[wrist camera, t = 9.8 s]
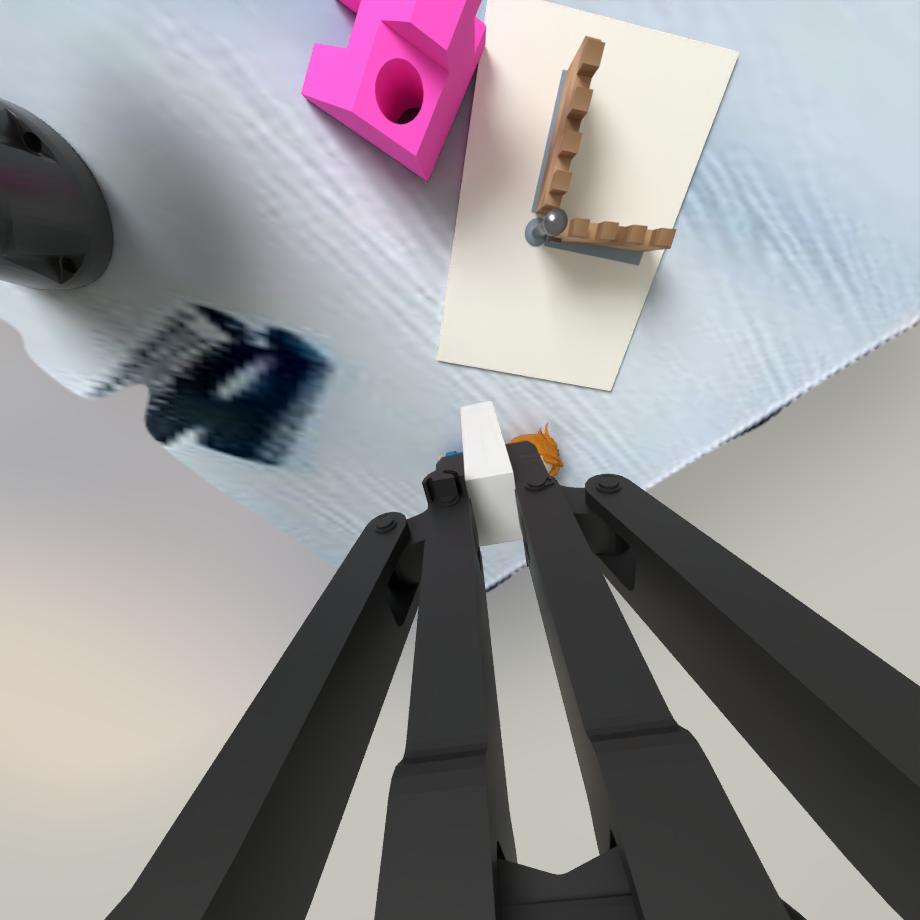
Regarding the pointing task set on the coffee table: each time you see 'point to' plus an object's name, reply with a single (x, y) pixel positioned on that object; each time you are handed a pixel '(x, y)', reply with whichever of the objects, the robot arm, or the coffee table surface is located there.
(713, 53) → the card
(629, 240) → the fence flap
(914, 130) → the coffee table surface
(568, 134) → the fence fixed
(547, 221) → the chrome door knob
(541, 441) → the toy
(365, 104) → the bracket
